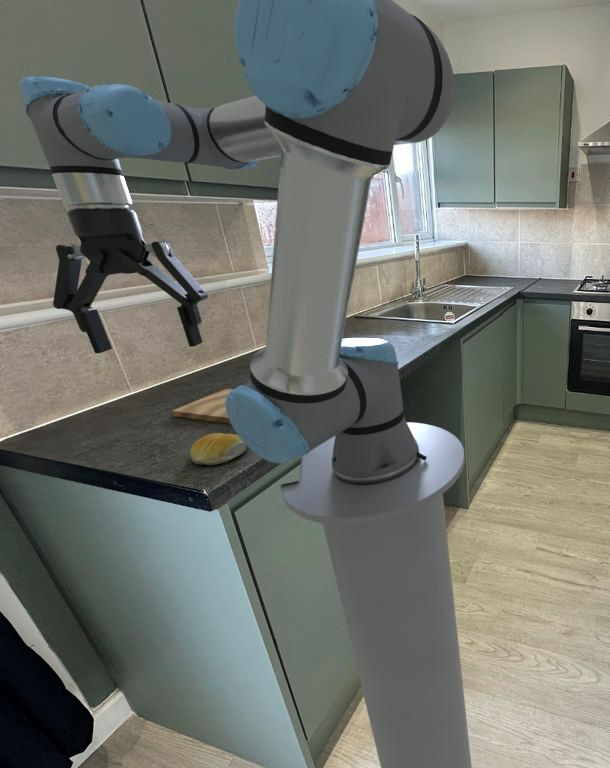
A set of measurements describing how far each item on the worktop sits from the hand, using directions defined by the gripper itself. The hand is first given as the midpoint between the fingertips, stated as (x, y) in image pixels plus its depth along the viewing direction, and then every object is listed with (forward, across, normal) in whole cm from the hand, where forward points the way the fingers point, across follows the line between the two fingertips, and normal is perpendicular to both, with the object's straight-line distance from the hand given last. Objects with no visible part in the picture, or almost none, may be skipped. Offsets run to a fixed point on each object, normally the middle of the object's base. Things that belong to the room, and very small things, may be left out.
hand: (150, 347), depth 69 cm
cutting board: (+22, +3, -26) cm, 34 cm away
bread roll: (+22, -4, -2) cm, 23 cm away
